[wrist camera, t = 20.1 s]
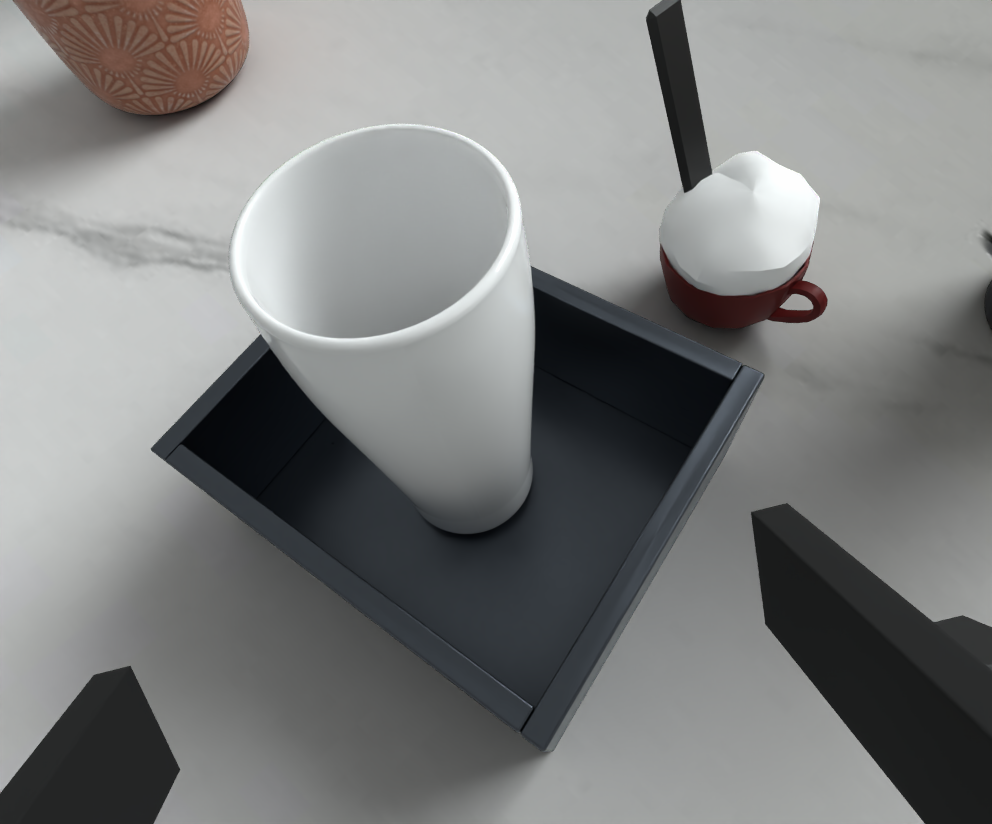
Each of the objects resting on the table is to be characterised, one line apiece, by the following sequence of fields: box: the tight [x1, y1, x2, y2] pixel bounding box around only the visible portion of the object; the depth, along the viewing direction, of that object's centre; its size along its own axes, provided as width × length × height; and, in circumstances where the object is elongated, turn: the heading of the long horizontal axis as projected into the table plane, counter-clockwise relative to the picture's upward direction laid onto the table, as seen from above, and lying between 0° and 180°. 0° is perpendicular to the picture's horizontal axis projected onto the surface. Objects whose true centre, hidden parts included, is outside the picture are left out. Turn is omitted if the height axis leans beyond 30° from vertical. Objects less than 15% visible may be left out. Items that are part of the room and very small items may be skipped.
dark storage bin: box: [151, 266, 764, 752], centre depth 25 cm, size 17×14×7 cm
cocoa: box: [646, 0, 827, 328], centre depth 26 cm, size 10×6×12 cm, turn 19°
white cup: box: [228, 124, 535, 534], centre depth 21 cm, size 7×7×15 cm
